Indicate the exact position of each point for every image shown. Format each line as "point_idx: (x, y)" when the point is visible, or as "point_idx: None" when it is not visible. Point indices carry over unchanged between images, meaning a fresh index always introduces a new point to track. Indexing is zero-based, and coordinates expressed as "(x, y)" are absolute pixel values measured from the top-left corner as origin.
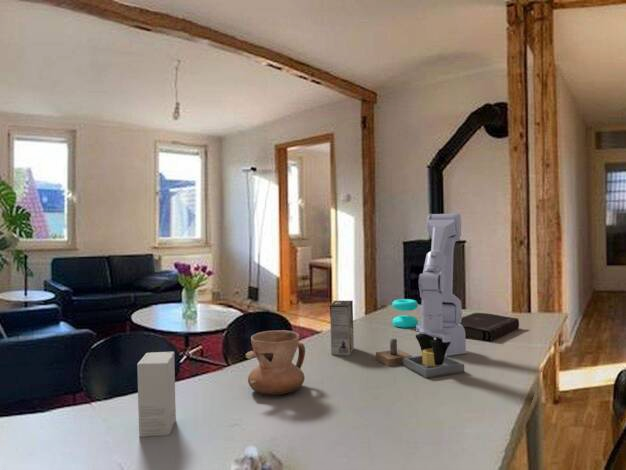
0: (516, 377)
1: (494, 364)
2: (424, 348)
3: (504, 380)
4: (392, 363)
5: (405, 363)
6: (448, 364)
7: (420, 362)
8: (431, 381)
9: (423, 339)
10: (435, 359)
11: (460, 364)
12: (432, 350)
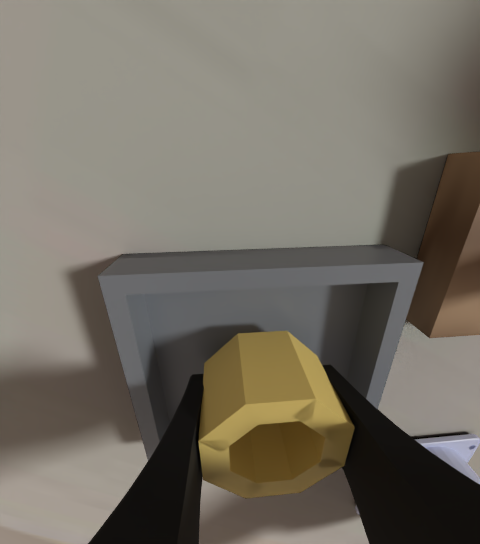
0: (68, 524)
1: (216, 522)
2: (359, 435)
3: (40, 494)
4: (448, 189)
5: (371, 252)
6: None
7: (355, 342)
8: (68, 258)
9: (421, 540)
10: (181, 402)
11: None
12: (310, 456)
